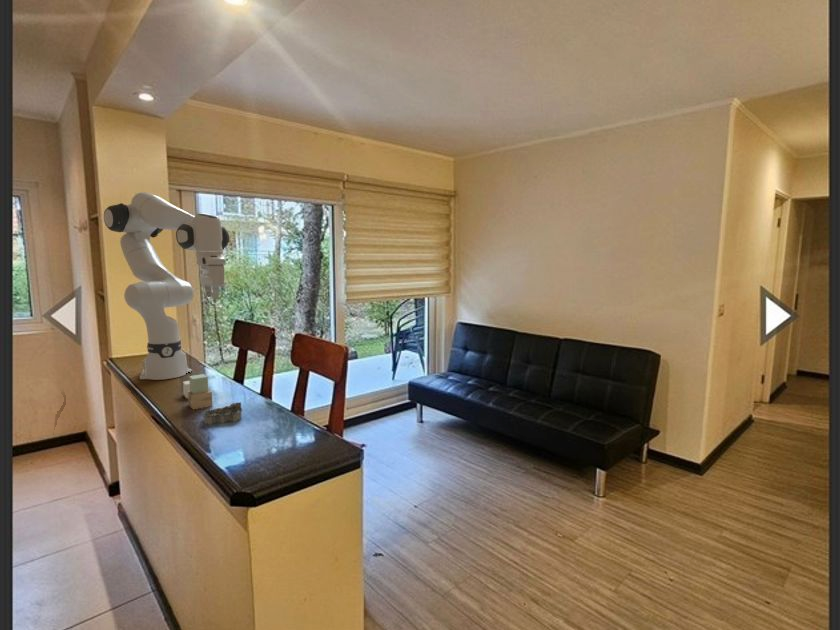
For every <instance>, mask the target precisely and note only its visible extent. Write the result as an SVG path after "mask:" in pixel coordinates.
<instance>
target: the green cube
mask: <svg viewBox="0 0 840 630" xmlns="http://www.w3.org/2000/svg"><path fill="white" fill-rule="evenodd" d="M188 381H190V391H191V392H192V393H193V394H197V393H203V392H208V389H209V383H208V376H207V375H206V374H204V373H202V374H194V375H190V376H188Z"/></svg>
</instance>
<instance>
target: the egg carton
mask: <svg viewBox="0 0 840 630" xmlns="http://www.w3.org/2000/svg"><path fill="white" fill-rule="evenodd" d="M242 412H243V409H242V403H241V401H240V402H234V403H233V402H232V403H231V404H230V405H228V406H227V405H225V406H224V407H217V408H214V409H205V410H204V412H203V418H204V419H203V420H204V421H203V422H204V424H207V423H208V425H213V424H214V422H215V423H220V422H221V423H220V424H224V423H227V422H229V421H230V422H237V421H240V419H242ZM212 423H213V424H212Z"/></svg>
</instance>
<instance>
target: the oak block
mask: <svg viewBox="0 0 840 630" xmlns="http://www.w3.org/2000/svg"><path fill="white" fill-rule="evenodd" d="M212 392H213V391H212V390H210V389H209V388H208V392H203V393H197V394H193V393H192V392H191V391H188V398H187V403H188V406H189V407H190V409H191V408H192V409H193V410H192V409H191V410H192V411H195V410H194V409H196V410H199V409H198V408H201V409H204V408H203V407H206V408H209V407H208V406H211V407H213V406H212V405H213V393H212Z"/></svg>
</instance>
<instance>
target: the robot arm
mask: <svg viewBox="0 0 840 630" xmlns="http://www.w3.org/2000/svg"><path fill="white" fill-rule="evenodd" d="M103 221H104V225H105V226H106V228H107V229H108V230H109V231H111V232H116V233H124V234H123V235H122V236H121V237H120V240H119V241H120V242H119V243H120V247H121V250H122V254H123V256H124V258H125V260H126V262H127V265H128V266H129V269H130V270H131V273H132V275H133V276H134V277H135V278H137V279H138V280H140V282H135V283H132V284H129V285H128V286H127V287H126V289H125V291H124V295H123V297H124V300H125V302H126V304H127V305H128V306H129V307H130V308H131V309H133V310H135V311H136V312H137V313H138V314H139V315H140V316H141V317H142V318H143V320H144V323H145V326H146V331H147V340H148V341H147V345H146V349H147V355H145V358H144V359H143V360H141V364H142V367H143V366H144V367H143V369H142V370H141V373H140V375H139V380H153V381H155V380H156V381H161V380H162V381H163V380H169V379H175V378H176V379H177V378H179V377H183V376H185V375H187V374H189V373H188V372H190V373H192V372H193V369H192V368H189V367H188V363H187V362H188V361H187V353H185V352H184V351H183V350H182V342H181V341H182V340H181V339H180V329H179V328H180V327H179V325H180V324H179V323H178V321H177V320H176V319H175V318H173V317H171V316H169V315H167V313H166V312H165V308H174V307H180V306H183V305H187V304H190V303H191V302H192V301H193V298H194V295H195V294H194V288H193V286H192V285H191V283H190V282H189V281H186V280H184V279H181V278H179V277H178V276H176V275H175V274H173V273H172V272H171V271H170V270H169V269H168V268H166V267H165V265H164V264H163V263H162V261H161V259H160V257H159V256H158V253H157V252H156V250H155V248H154V246H153V245H152V243H151V239H150V238H153V239H154V238H156V237H158V235H159V234H160V233H162V232H163V230H171V231H176V232H175V237H176V242H177V244H178V245H179V246H180V247H181V248H182V249H184V250H188V251H195V260H196V265H199V282H200V285H204V287H203V288H204V291H205V296H206V297H207V298H212V300H219V298H220V295H219V293H220V289H221V287H222V288H224V284H225V265H226V264H227V262H226V261H227V260H226V258H225V256H224V250H225V249H226V248H227V246H228V245H229V243H230V239H231V237H230V233H229V232H228V230H227V228H225V226H223V224H222V223H221V220H220V217H219V216H218V215H216V214H214V213H206V212H198V213H196V214H192V213H189V212H187V211H186V210H183V209H181V208H180V207H177V206H175V205H173V204H172V203H170V202H168V201H166V200H165V199H163V198H162V197H160V196H158V195H155V194H153V193H149V192H145V191H144V192H143V191H142V192H137V193H136V194H134V196H133V197H132V198H131V202H130V204H124V203H123V202H121V203H118V204H113V205H109V206H107V208H105V210H104V212H103ZM191 371H192V372H191ZM186 373H187V374H186Z"/></svg>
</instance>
